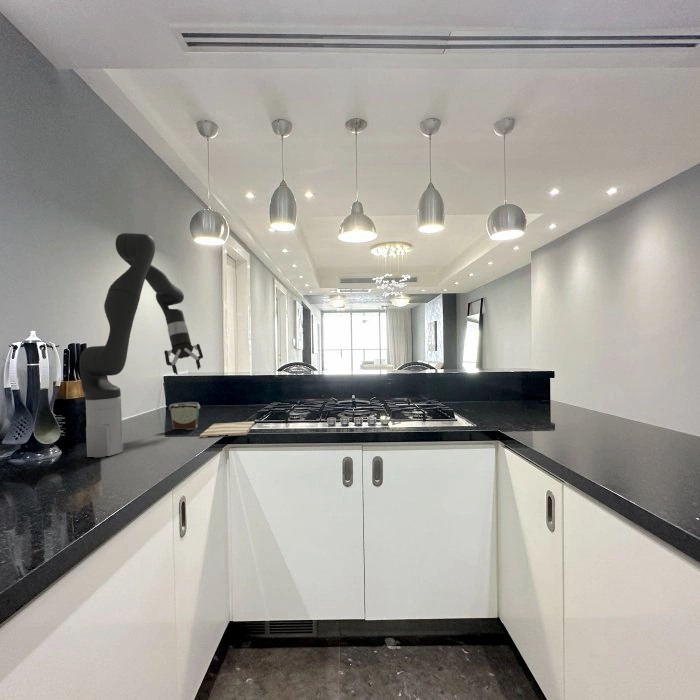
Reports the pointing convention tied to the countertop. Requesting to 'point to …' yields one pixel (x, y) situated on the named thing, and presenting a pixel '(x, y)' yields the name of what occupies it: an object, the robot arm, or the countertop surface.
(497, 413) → the countertop surface
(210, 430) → the birch board
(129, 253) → the robot arm
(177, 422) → the food container
